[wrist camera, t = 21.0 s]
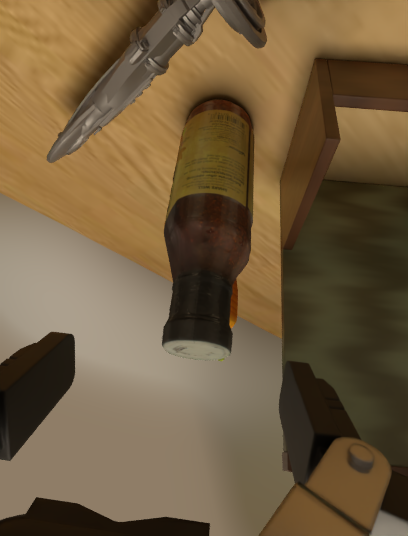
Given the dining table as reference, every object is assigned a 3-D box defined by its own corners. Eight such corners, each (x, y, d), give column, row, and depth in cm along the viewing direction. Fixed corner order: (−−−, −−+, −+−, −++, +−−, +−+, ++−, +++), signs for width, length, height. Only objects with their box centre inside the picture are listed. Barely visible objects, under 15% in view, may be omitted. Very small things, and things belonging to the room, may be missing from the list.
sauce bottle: (171, 116, 27) (108, 335, 17) (234, 80, 24) (205, 323, 14) (210, 169, 32) (179, 367, 21) (268, 145, 28) (264, 364, 18)
